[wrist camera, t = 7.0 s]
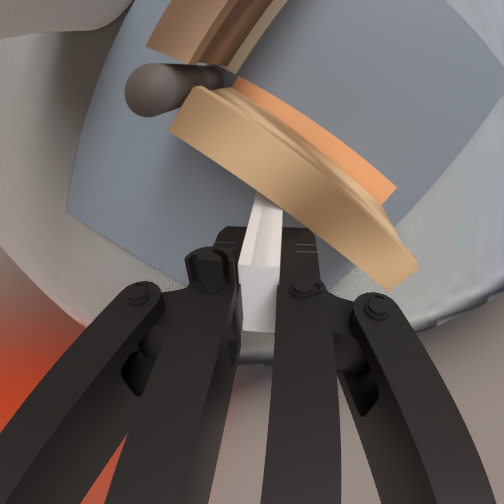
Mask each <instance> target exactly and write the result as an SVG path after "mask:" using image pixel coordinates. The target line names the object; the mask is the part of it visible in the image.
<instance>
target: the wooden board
mask: <svg viewBox="0 0 504 504" xmlns="http://www.w3.org/2000/svg"><path fill="white" fill-rule="evenodd" d="M168 131H169V132H171V133H172V134H174V135H175V136H177V137H178V138H180V139H181V140H183V141H185V142H186V143H188V144H189V145H191V146H192V147H194V148H195V149H197V150H198V151H200V152H201V153H203V154H204V155H206V156H207V157H209V158H210V159H212V160H213V161H215V162H216V163H218V164H219V165H221V166H222V167H224V168H225V169H227V170H228V171H230V172H231V173H233V174H234V175H235V176H237V177H238V178H240V179H241V180H243V181H244V182H246V183H247V184H248V185H250V186H251V187H253V188H254V189H255V190H257V191H258V192H260V193H261V194H262V195H264V196H265V197H267V198H268V199H269V200H271V201H272V202H274V203H275V204H276V205H278V206H279V207H280V208H282V209H283V210H285V211H286V212H287V213H289V214H290V215H291V216H293V217H294V218H295V219H297V220H298V221H299V222H301V223H302V224H303V225H305V226H306V227H307V228H309V229H310V230H311V231H313V232H314V233H315V234H317V235H318V236H319V237H320V238H322V239H323V240H324V241H326V242H327V243H328V244H329V245H331V246H332V247H333V248H335V249H336V250H337V251H338V252H340V253H341V254H342V255H343V256H345V257H346V258H347V259H348V260H350V261H351V262H352V263H353V264H355V265H356V266H357V267H358V268H360V269H361V270H362V271H363V272H365V273H366V274H367V275H368V276H369V277H371V278H372V279H373V280H374V281H376V282H377V283H378V284H379V285H380V286H382V287H383V288H384V289H385V290H386V291H387V292H389V291H391V290H392V289H393V288H394V287H396V286H397V285H398V284H400V283H401V282H402V281H403V280H405V279H406V278H407V277H408V276H410V275H411V274H412V273H413V272H414V271H416V270H417V269H418V268H419V265H418V263H417V260H416V258H415V256H414V255H413V254H412V253H411V252H410V251H409V250H408V249H407V248H406V247H405V246H404V245H403V244H402V243H401V241H400V239H399V237H398V235H397V233H396V231H395V229H394V227H393V225H392V223H391V221H390V219H389V217H388V215H387V213H386V211H385V210H384V208H383V206H382V205H381V204H380V203H379V202H378V201H377V200H376V199H375V198H373V197H372V196H371V195H370V194H369V193H368V192H367V191H366V190H365V189H364V188H363V187H362V186H361V185H360V184H358V183H357V182H356V181H355V180H354V179H353V178H352V177H351V176H350V175H348V174H347V173H346V172H345V171H344V170H343V169H342V168H340V167H339V166H338V165H337V164H336V163H335V162H333V161H332V160H331V159H330V158H329V157H327V156H326V155H325V154H324V153H323V152H321V151H320V150H319V149H318V148H316V147H315V146H314V145H313V144H311V143H310V142H309V141H308V140H306V139H305V138H304V137H302V136H301V135H300V134H298V133H297V132H296V131H295V130H293V129H292V128H291V127H289V126H288V125H286V124H285V123H284V122H282V121H281V120H280V119H278V118H277V117H275V116H274V115H273V114H271V113H270V112H268V111H267V110H266V109H264V108H263V107H261V106H260V105H258V104H257V103H255V102H254V101H252V100H251V99H249V98H248V97H246V96H245V95H243V94H242V93H240V92H239V91H237V90H235V89H234V88H232V87H229V88H222V89H215V90H208V89H206V88H205V87H203V86H196V87H193V89H192V90H191V92H190V93H189V95H188V97H187V98H186V100H185V102H184V103H183V105H182V107H181V108H180V110H179V112H178V113H177V115H176V117H175V119H174V120H173V122H172V124H171V126H170V127H169V129H168Z"/></svg>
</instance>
